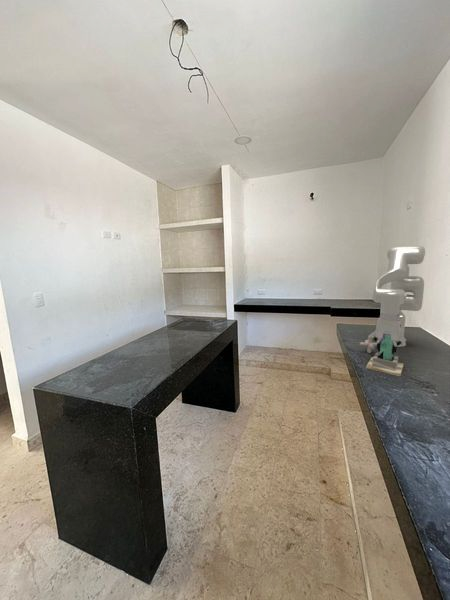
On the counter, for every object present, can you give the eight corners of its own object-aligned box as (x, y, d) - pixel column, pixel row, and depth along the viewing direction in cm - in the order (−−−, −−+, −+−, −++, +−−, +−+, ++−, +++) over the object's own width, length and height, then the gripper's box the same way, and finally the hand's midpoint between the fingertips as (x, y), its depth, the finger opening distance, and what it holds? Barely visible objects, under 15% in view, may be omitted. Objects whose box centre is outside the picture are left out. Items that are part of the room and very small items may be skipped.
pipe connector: (382, 356, 135) (383, 339, 133) (362, 355, 137) (363, 338, 135) (375, 349, 145) (376, 333, 143) (356, 348, 147) (357, 333, 145)
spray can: (390, 362, 124) (394, 324, 120) (392, 366, 119) (396, 327, 115) (378, 360, 126) (380, 323, 122) (379, 365, 121) (382, 326, 117)
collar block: (371, 358, 132) (372, 349, 131) (403, 365, 123) (404, 356, 122) (366, 368, 122) (366, 358, 121) (400, 376, 113) (401, 366, 112)
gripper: (411, 317, 115) (408, 353, 118) (370, 312, 126) (368, 345, 130) (410, 321, 110) (406, 358, 113) (367, 316, 121) (365, 350, 124)
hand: (386, 351), depth 121 cm, fingers closed on spray can, 5 cm apart
